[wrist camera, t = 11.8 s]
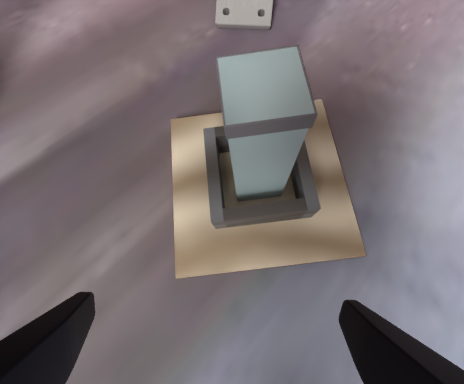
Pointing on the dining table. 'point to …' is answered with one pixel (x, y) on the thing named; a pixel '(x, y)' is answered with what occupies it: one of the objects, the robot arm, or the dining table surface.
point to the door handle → (244, 14)
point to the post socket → (257, 205)
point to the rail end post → (264, 117)
